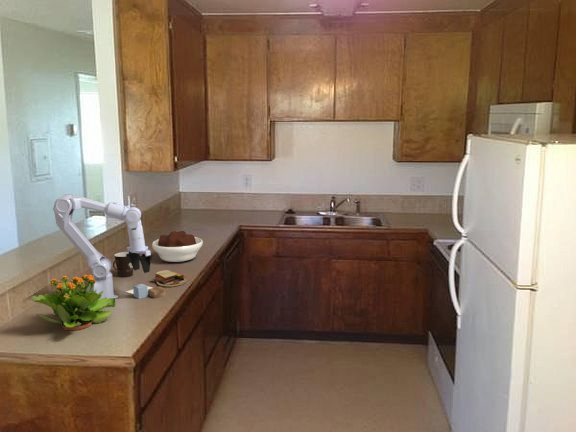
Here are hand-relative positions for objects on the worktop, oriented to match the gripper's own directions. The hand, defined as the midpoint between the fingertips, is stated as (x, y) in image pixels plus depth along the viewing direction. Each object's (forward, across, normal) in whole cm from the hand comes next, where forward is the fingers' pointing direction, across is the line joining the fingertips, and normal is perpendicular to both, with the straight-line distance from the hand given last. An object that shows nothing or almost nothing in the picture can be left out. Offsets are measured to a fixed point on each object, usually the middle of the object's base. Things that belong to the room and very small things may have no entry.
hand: (141, 270), depth 212 cm
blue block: (+10, +1, +2) cm, 11 cm away
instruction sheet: (+10, +8, -2) cm, 13 cm away
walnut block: (+11, -3, -3) cm, 12 cm away
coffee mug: (+10, +32, -7) cm, 34 cm away
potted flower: (+9, -10, +34) cm, 36 cm away
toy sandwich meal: (+12, +7, -16) cm, 21 cm away
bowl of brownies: (+12, +36, -41) cm, 56 cm away
